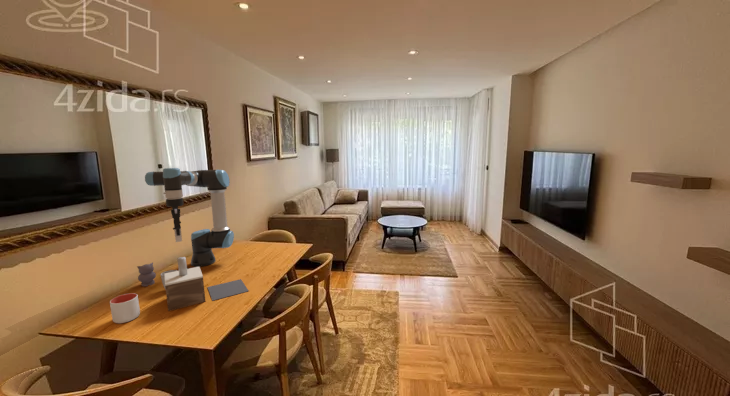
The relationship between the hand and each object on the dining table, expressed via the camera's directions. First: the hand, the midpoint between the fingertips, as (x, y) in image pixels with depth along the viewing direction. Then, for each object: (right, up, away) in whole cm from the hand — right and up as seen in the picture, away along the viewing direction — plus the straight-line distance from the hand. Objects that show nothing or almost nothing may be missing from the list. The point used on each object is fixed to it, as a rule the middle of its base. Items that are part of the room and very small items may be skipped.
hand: (178, 238), depth 153 cm
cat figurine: (-30, -30, +20) cm, 47 cm away
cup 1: (-13, -35, -17) cm, 41 cm away
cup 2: (-12, -31, +12) cm, 35 cm away
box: (+4, -32, 0) cm, 32 cm away
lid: (+4, -20, -2) cm, 20 cm away
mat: (+20, -30, +11) cm, 38 cm away
